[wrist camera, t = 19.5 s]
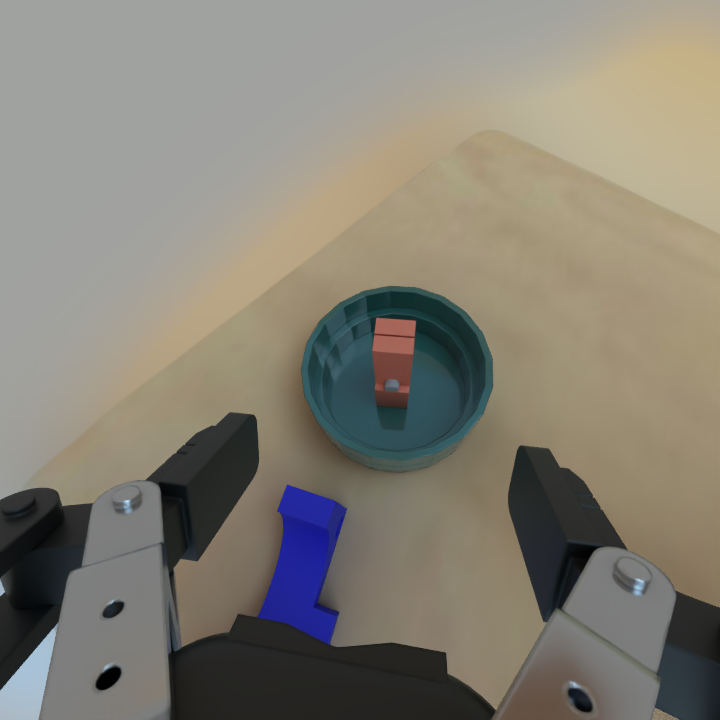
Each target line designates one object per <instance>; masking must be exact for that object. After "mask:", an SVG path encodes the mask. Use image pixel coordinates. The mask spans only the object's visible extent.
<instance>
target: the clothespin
mask: <svg viewBox="0 0 720 720" xmlns="http://www.w3.org/2000/svg"><path fill="white" fill-rule="evenodd" d="M415 327H416V321H413V320H399V319H386V318H376V325H375V332H374V334H375V335H374V340H373V347H372V355H373V364H374V374H375V397H376V405H377V406H384V407H394V408H403V409H407V407H408V398H409V388H410V379H411V370H412V361H413V352H414V339H415Z"/></svg>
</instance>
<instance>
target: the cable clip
mask: <svg viewBox="0 0 720 720" xmlns="http://www.w3.org/2000/svg"><path fill="white" fill-rule="evenodd" d="M346 510H347V509H346V508H345V507H343V506H342V505H340V504H339V503H337V502H336V501H334V500H331V499H328V498H325V497H322V496H319V495H316V494H313V493H310V492H307V491H304V490H301V489H298V488H296V487H293V486H290V485H287V487H286V489H285V492H284V495H283V497H282V500H281V502H280V505H279V508H278V510H277V511H278V512H280V513H281V515H282V518H283V539H282V545H281V550H280V555H279V559H278V562H277V566H276V569H275V573H274V576H273V579H272V582H271V585H270V588H269V590H268V593H267V596H266V598H265V601H264V603H263V606H262V608H261V611H260V613H259V615H258V618H262V619H268V620H273V621H278V622H284V623H287V624H289V625H291V626H293V627H295V628H297V629H299V630H301V631H303V632H305V633H307V634H309V635H311V636H313V637H315V638H317V639H319V640H321V641H323V642H325V643H327V644H329V645H330V642H331V638H332V635H333V631H334V628H335V625H336V621H337V618H338V614H339V612H337V611H334V610H332V609H329V608H327V607H324V606H322V605H320V604H317V603H318V600H319V597H320V594H321V590H322V587H323V584H324V581H325V578H326V574H327V571H328V568H329V565H330V562H331V558H332V555H333V552H334V549H335V546H336V542H337V539H338V536H339V533H340V530H341V526H342V523H343V520H344V517H345V514H346Z"/></svg>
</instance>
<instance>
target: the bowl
mask: <svg viewBox="0 0 720 720" xmlns="http://www.w3.org/2000/svg"><path fill="white" fill-rule="evenodd" d="M376 318H386V319H399V320H413V321H416V327H415V339H414V352H413V361H412V370H411V379H410V388H409V398H408V407H407V409H403V408H394V407H384V406H377V405H376V397H375V374H374V364H373V355H372V347H373V340H374V335H375V334H374V332H375V325H376ZM301 373H302V381H303V389H304V396H305V398H306V400H307V402H308V404H309V406H310V408H311V410H312V412H313V414H314V416H315V418H316V420H317V422H318V423H319V425H320V427H321V428H322V430H323V431H324V433H325V434H326V436H327V438H328V439H329V440H330V441H331V442H332V443H333V444H334V445H335V446H336V447H337V448H338V449H339V450H340V451H341V452H342V453H343V454H344V455H346V456H347V457H348V458H350V459H352V460H354V461H357V462H359V463H361V464H363V465H365V466H367V467H369V468H371V469H372V468H373V469H377V470H385V471H393V472H406V471H411V470H416V469H421V468H426V467H429V466H431V465H433V464H435V463H436V462H438V461H440V460H441V459H443V458H445V457H447V456H448V455H450V454H452V453H453V452H454V451H455V450H456V449H457V447H458V446H459V445H460V444H461V443H462V441H463V440H464V439H465V438H466V437H467V436H468V434H469V433H470V432H471V430H472V429H473V428H474V426H475V425H476V424H477V422H478V421H479V419H480V418H481V417H482V415H483V414H484V411H485V408H486V405H487V402H488V399H489V397H490V394H491V391H492V388H493V359H492V356H491V353H490V351H489V348H488V345H487V343H486V340H485V337H484V335H483V333H482V331H481V330H480V329H479V328H478V326H477V325H476V324H475V323H474V321H473V320H472V319H471V318H470V316H469V315H468V314H467V313H466V312H465V311H464V310H463V309H461V308H460V307H458V306H457V305H455V304H454V303H452V302H451V301H449V300H448V299H446V298H445V297H442V296H441V295H438V294H435V293H432V292H429V291H426V290H423V289H420V288H416V287H400V286H387V287H382V288H376V289H371V290H366V291H364V292H361V293H359V294H356V295H354V296H352V297H350V298H348V299H346V300H344V301H342V302H340V303H339V304H338V305H337V306H336V307H334V308H333V309H332V310H331V311H330V312H329V313H328V314H327V315H326V316H324V317H323V318H322V319H321V320H320V322H319V323H318V325H317V327H316V328H315V330H314V332H313V333H312V335H311V337H310V338H309V340H308V342H307V344H306V349H305V353H304V358H303V362H302V367H301Z"/></svg>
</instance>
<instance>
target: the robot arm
mask: <svg viewBox="0 0 720 720" xmlns="http://www.w3.org/2000/svg"><path fill="white" fill-rule="evenodd" d="M258 463H259V449H258V433H257V420H256V417H255V416H254V415H251V414H242V413H233V412H230V413H229V414H227V415H226V416H225V417H224V418H223V419H222V420H221V421H220V422H219V423H218V424H217V425H216V426H210V427H208V428H206V429H204V430H202V431H200V432H198V433H196V434H195V435H194V436H193V437H192V438H191V439H190V440H189V441H188V442H186V445H183V446H182V447H181V448H180V449H179V450H178V451H177V453H176V454H175V453H174V454H173V455H172V456H171V457H170V458H169V459H168V460H167V461H166V462H165V463H164V464H163V465H161V466H160V467H159V468H158V469H157V470H156V471H155V472H154V473H153V474H152V475H151V476H149V477H148V478H147V479H146V480H138V481H131V482H127V483H123V484H120V485H118V486H115V487H113V488H111V489H109V490H108V491H106V492H104V493H103V494H102V495H101V496H99V497H98V498H97V499H96V501H95V502H94V503H90V504H79V505H69V506H62V504H61V501H60V497H59V494H58V492H57V491H55V490H53V489H50V488H35V489H29V490H25V491H21V492H18V493H15V494H13V495H10V496H8V497H5V498H4V499H1V500H0V580H1V582H2V585H3V587H4V590H5V593H4V594H3V595H2V596H0V690H1V689H2V688H3V686H4V685H5V684H6V683H7V682H8V680H9V679H10V678H11V677H12V675H14V674H15V672H16V671H17V670H18V669H19V668H20V666H21V665H22V664H23V663H24V662H25V661H26V659H27V658H28V657H29V656H30V655H31V654H32V652H33V651H34V650H35V649H36V648H37V646H38V645H39V644H40V643H41V642H42V641H43V639H44V638H45V637H46V636H47V635H48V634H49V632H50V631H51V630H52V629H53V628H54V627H55V625H56V624H57V623H58V622H59V623H58V628H57V632H56V637H55V643H54V647H53V652H52V657H51V662H50V667H49V672H48V677H47V681H46V687H45V691H44V696H43V701H42V706H41V711H40V716H39V720H652V716H653V712H654V708H657V709H659V710H661V711H663V712H666V713H668V714H670V715H672V716H674V717H676V718H678V719H680V720H720V608H718V607H716V606H713V605H710V604H708V603H705V602H702V601H700V600H697V599H694V598H692V597H689V596H686V595H684V594H682V593H679V592H677V591H675V589H674V586H673V584H672V583H671V581H670V580H669V579H668V577H667V576H666V575H665V574H664V573H663V572H662V571H661V570H660V569H659V568H658V567H656V566H655V565H654V564H653V563H651V562H650V561H648V560H647V559H645V558H643V557H641V556H640V555H638V554H635V553H633V552H631V551H628V550H627V548H626V547H625V545H624V543H623V542H622V540H621V539H620V537H619V536H618V534H617V532H616V531H615V529H614V528H613V526H612V525H611V523H610V521H609V520H608V518H607V517H606V515H605V514H604V512H603V510H600V506H599V504H598V503H597V501H596V499H595V498H593V495H592V493H591V492H590V490H589V489H588V487H587V485H586V484H585V482H584V481H583V480H582V479H580V478H579V477H578V476H577V475H576V474H574V473H573V472H572V471H571V470H570V469H568V468H560V467H559V465H558V463H557V462H556V460H555V458H554V456H553V455H552V453H551V451H550V450H549V449H547V448H539V447H530V446H519V448H518V450H517V454H516V458H515V463H514V468H513V473H512V477H511V482H510V487H509V493H508V505H509V512H510V515H511V518H512V522H513V525H514V528H515V531H516V535H517V538H518V541H519V544H520V548H521V551H522V554H523V557H524V561H525V564H526V567H527V570H528V574H529V577H530V580H531V583H532V587H533V590H534V593H535V596H536V600H537V603H538V606H539V609H540V613H541V616H542V619H543V622H547V624H546V625H545V627H544V629H543V631H542V632H541V634H540V636H539V638H538V639H537V641H536V643H535V644H534V646H533V648H532V650H531V651H530V653H529V655H528V657H527V658H526V660H525V662H524V663H523V665H522V667H521V669H520V670H519V672H518V674H517V676H516V677H515V679H514V681H513V683H512V684H511V686H510V688H509V689H508V691H507V693H506V695H505V696H504V698H503V700H502V702H501V703H500V705H499V707H498V709H497V710H495V709H494V708H493V707H492V706H491V705H490V704H489V703H488V702H487V701H486V700H485V699H484V698H483V697H482V696H481V695H479V694H478V693H477V692H476V691H474V690H473V689H472V688H471V687H469V686H468V685H466V684H465V683H463V682H462V681H460V680H459V679H457V678H455V677H453V676H451V675H449V674H447V660H446V653H445V652H440V651H434V650H429V649H423V648H418V647H413V646H407V645H402V644H397V643H383V644H371V645H360V646H349V647H334V646H331V645H329V644H327V643H325V642H323V641H321V640H319V639H317V638H315V637H313V636H311V635H309V634H307V633H305V632H303V631H301V630H299V629H297V628H295V627H293V626H291V625H289V624H287V623H284V622H278V621H273V620H268V619H262V618H257V617H252V616H246V615H241V614H238V615H237V617H236V620H235V622H234V624H233V626H232V628H231V630H230V632H228V633H221V634H217V635H212V636H209V637H206V638H203V639H200V640H197V641H195V642H193V643H190V644H188V645H186V646H184V647H182V643H181V634H180V623H179V612H178V601H177V590H176V580H175V572H174V567H175V566H176V564H177V563H178V562H179V560H180V559H186V560H192V561H198V560H199V559H200V557H201V556H202V554H203V553H204V551H205V550H206V548H207V547H208V545H209V544H210V542H211V541H212V539H213V538H214V536H215V535H216V533H217V532H218V530H219V529H220V527H221V526H222V524H223V523H224V521H225V520H226V518H227V517H228V515H229V514H230V512H231V511H232V509H233V508H234V506H235V505H236V503H237V502H238V500H239V499H240V497H241V496H242V494H243V493H244V491H245V490H246V488H247V487H248V485H249V484H250V482H251V481H252V479H253V478H254V476H255V474H256V472H257V468H258Z"/></svg>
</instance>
